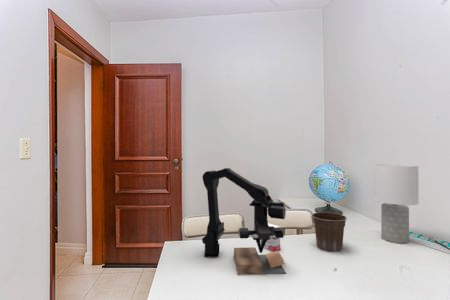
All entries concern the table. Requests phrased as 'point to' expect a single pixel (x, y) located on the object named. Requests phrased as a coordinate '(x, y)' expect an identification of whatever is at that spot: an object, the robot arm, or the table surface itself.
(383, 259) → the table surface
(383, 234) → the lamp
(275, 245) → the ink box
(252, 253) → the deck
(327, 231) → the plant pot
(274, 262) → the light orange block
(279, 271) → the mat
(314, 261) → the table surface
